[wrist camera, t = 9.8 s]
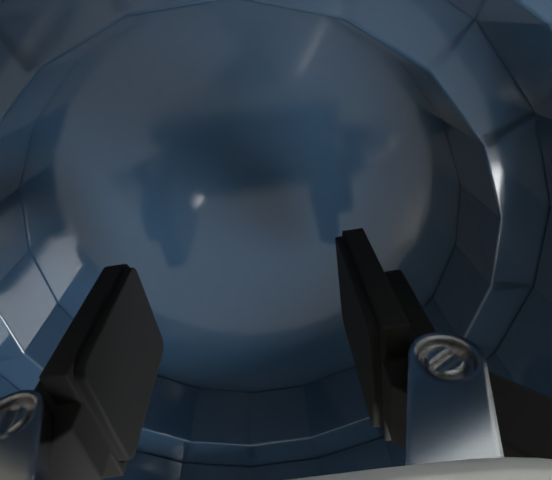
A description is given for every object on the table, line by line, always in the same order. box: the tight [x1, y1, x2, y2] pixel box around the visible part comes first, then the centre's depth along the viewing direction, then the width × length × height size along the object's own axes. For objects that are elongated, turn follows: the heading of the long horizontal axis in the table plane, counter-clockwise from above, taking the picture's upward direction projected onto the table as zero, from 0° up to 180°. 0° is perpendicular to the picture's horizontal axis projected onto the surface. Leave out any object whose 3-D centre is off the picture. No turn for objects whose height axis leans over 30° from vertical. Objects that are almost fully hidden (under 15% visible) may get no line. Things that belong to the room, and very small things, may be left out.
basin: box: [0, 0, 552, 480], centre depth 12 cm, size 17×17×6 cm
